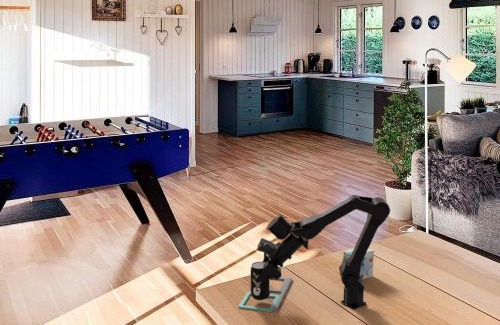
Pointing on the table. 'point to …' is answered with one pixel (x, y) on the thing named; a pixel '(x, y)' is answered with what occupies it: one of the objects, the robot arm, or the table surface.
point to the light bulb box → (364, 263)
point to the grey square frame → (280, 287)
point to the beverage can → (261, 288)
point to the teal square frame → (258, 307)
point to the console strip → (282, 295)
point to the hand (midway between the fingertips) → (256, 277)
